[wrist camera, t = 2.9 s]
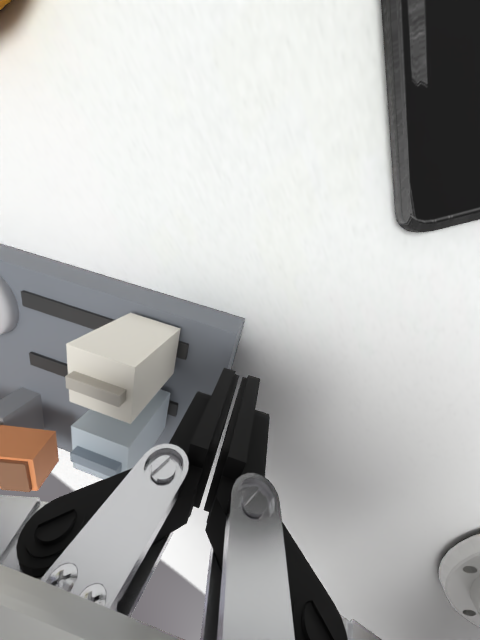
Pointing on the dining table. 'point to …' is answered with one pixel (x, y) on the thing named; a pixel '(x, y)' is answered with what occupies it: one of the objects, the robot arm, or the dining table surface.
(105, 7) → the dining table surface
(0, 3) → the decorated donut
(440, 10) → the phone
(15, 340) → the console
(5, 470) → the rocker switch
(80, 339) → the ivory knob
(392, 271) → the dining table surface
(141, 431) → the slate knob
